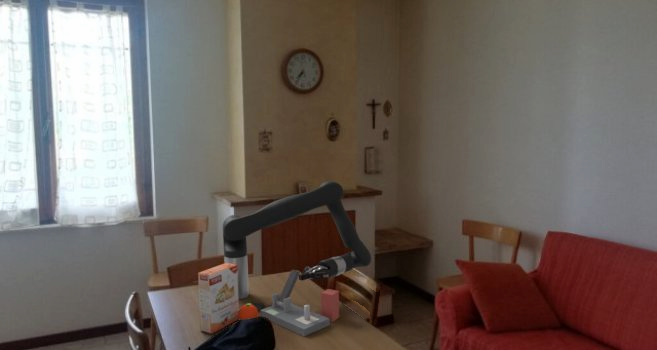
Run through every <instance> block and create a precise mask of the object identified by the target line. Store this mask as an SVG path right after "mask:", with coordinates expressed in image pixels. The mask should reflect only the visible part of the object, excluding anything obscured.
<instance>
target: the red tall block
mask: <svg viewBox="0 0 657 350" xmlns="http://www.w3.org/2000/svg"><path fill="white" fill-rule="evenodd" d="M339 293H340V292H339V290H336V289H332V288H327V289H325V290H324V291H322V292H320V306H321V308H320V311H321V313H320V315H322V316H325V317H327V318H330V323H334V322H335V321H336V320H338V319H339V318H340V303H339V302H340V299H339V298H340V297H339V295H340V294H339Z"/></svg>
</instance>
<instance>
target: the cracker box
mask: <svg viewBox="0 0 657 350" xmlns="http://www.w3.org/2000/svg"><path fill="white" fill-rule="evenodd" d="M197 276H198V277H197V278H198V281H197V282H198V304H199V306H198V308H199V329H200V332H201V331H202V332H204V333H207V334H211V335H212V334H214V333H216V332H218V331H220V330H222V329H223V328H226V327H228V326H230V325H232V324H234V323H235V321H236V322H238V321H240V320H239V310H240V309H239V299H238V269H237V265H235V264H230V263H225V262H224V263H222V264H219V265H216V266H213V267H211V268H207V269H204V270H203V271H200V272H198V273H197ZM237 320H238V321H237ZM233 322H234V323H233ZM231 323H232V324H231ZM229 324H230V325H229ZM227 325H228V326H227ZM225 326H226V327H225Z"/></svg>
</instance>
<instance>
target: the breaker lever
mask: <svg viewBox="0 0 657 350" xmlns="http://www.w3.org/2000/svg"><path fill="white" fill-rule="evenodd" d="M299 274H301V272H300V271H298V270H296V269H291V271H290V273H289V275H288V278H287V280H286V282H285V284H284V287H283V289H282V291H281V293H280V294H279V295H280V298H279V300H277V301H276V304H277V305H279V306H282V307H283V299H286V298H289V297H290V296H291V294H292V291H293V290H294V288H295V285H296V283H297V280H298V279H299ZM290 298H291V297H290Z"/></svg>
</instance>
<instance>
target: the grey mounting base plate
mask: <svg viewBox="0 0 657 350" xmlns="http://www.w3.org/2000/svg"><path fill="white" fill-rule="evenodd" d="M280 295H281V294H280V292H279V293H278V292H276V293H274V294H271V306H268V307H264V308H262V309H261V310H260V311H259V312H260V313H259V314H260V317H261V316H263V317H266V318H268V319H269V320H270V321H269V320H268V321H269V322H272V323H273V324H276V325H279V326H280V327H283V328H285V329H287V330H289V331H292V332H294V333H296V334H298V335H300V336H302V337H306V336H308V335H311V334H313V333H315V332H317V331H319V330H322V329H324V328H327V327H329V326H330V325H331V324H330V323H331V322H330V318H327V317H325V316H322V315H321V313H317V312H315V311H312V310H311V309H310V308H311V305H310V304H305V305H303V307H302V306H299V305H297V304H294V303H292V298H291V297H289V298H286V299H283V307H282V306H279V305H277V304H276V301H277V300H279V298H280ZM263 317H262V318H263Z"/></svg>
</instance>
